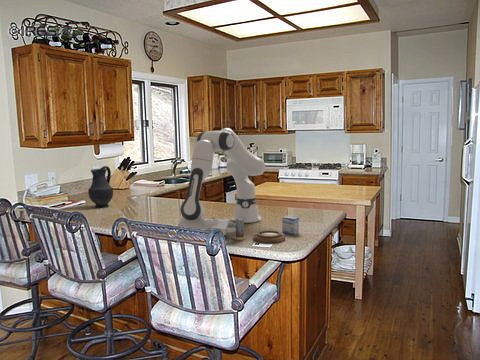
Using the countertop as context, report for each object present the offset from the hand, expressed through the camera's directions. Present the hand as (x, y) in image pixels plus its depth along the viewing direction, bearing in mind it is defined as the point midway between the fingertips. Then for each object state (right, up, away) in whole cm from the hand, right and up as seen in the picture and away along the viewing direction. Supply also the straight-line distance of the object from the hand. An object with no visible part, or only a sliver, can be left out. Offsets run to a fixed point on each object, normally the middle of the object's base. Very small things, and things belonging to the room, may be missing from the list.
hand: (236, 227), depth 206 cm
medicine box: (+29, -5, +10) cm, 31 cm away
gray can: (+2, -6, 0) cm, 6 cm away
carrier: (+16, -6, -1) cm, 17 cm away
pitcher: (-101, +4, +98) cm, 141 cm away
